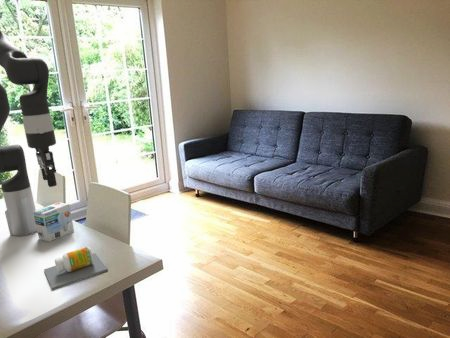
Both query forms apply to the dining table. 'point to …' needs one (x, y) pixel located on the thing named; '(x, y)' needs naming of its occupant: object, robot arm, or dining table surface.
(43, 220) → the light bulb box
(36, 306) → the dining table surface
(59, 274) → the placemat
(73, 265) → the supplement bottle
